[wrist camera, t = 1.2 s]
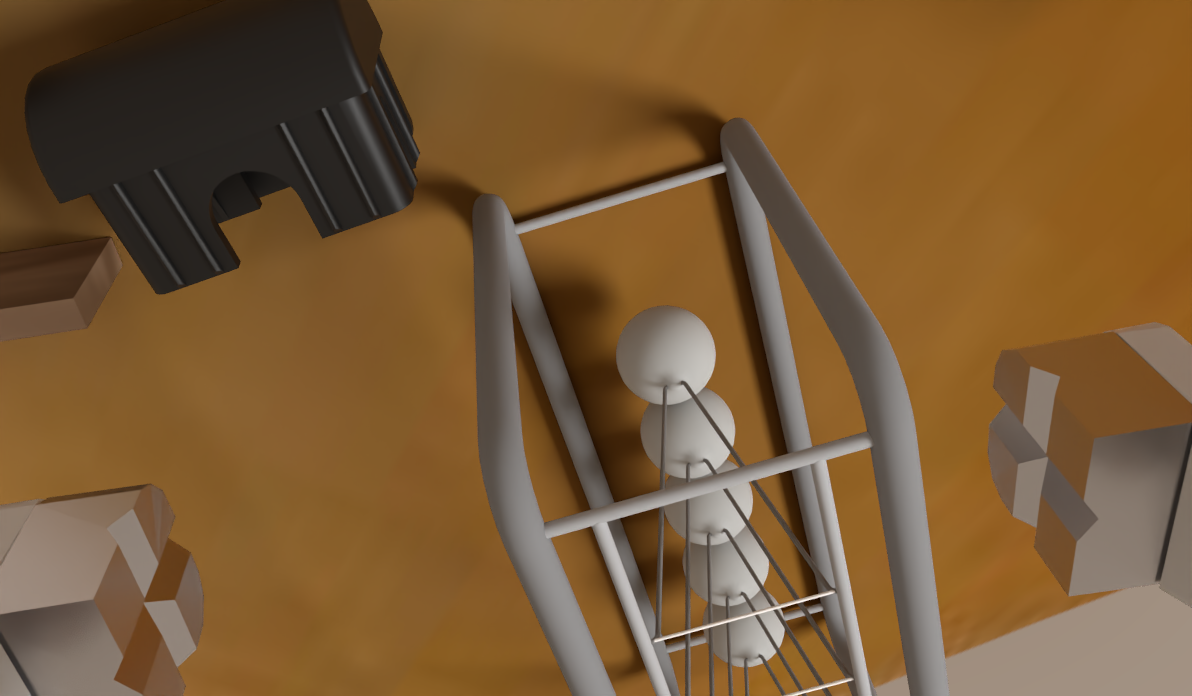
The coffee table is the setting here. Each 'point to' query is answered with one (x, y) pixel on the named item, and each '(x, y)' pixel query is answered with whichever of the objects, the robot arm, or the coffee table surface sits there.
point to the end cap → (226, 128)
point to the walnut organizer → (54, 287)
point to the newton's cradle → (706, 452)
